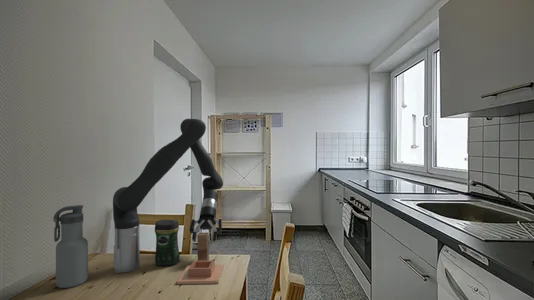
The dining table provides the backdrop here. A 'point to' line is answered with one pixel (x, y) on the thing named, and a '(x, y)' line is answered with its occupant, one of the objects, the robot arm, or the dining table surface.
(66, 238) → the water bottle
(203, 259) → the walnut post
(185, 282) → the terracotta holder
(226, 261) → the dining table surface
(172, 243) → the coffee jar
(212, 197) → the robot arm
